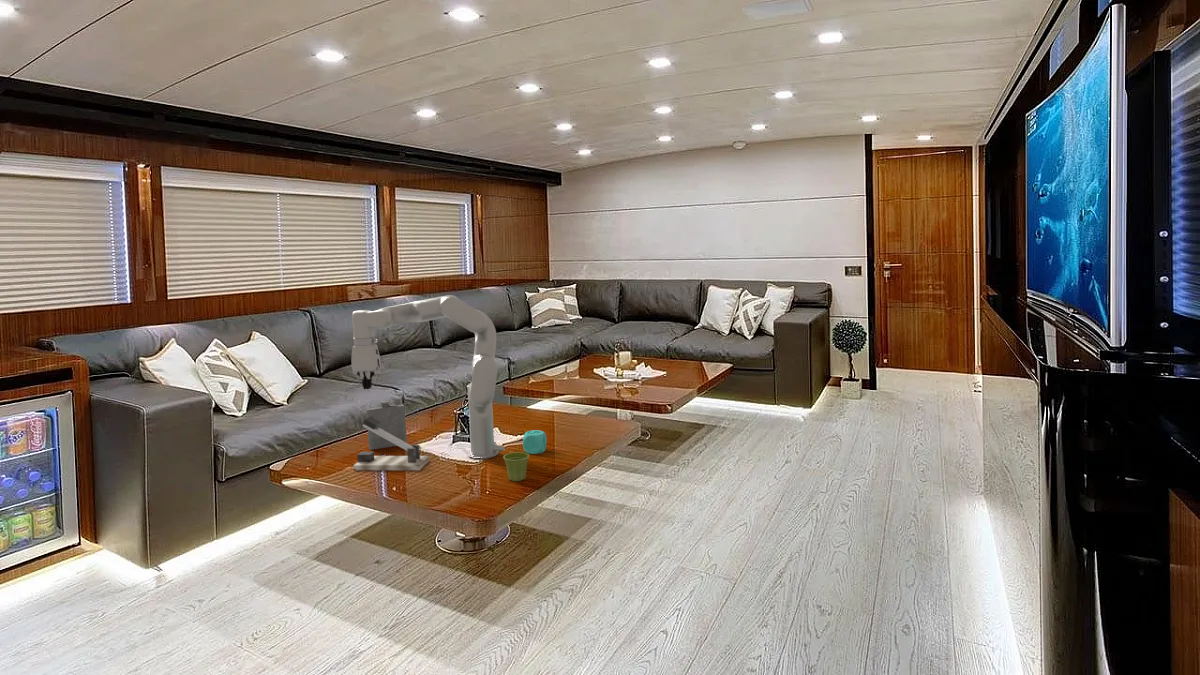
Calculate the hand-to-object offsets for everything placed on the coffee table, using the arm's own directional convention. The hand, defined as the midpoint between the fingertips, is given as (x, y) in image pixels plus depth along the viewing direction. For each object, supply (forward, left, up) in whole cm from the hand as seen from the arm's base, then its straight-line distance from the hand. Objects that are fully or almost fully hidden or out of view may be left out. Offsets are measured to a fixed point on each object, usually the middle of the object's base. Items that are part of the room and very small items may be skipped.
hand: (367, 388), depth 259 cm
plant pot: (-61, +15, -31) cm, 70 cm away
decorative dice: (-62, -19, -31) cm, 72 cm away
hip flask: (+4, -26, -31) cm, 41 cm away
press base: (-8, 0, -31) cm, 32 cm away
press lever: (-7, 0, -20) cm, 21 cm away
